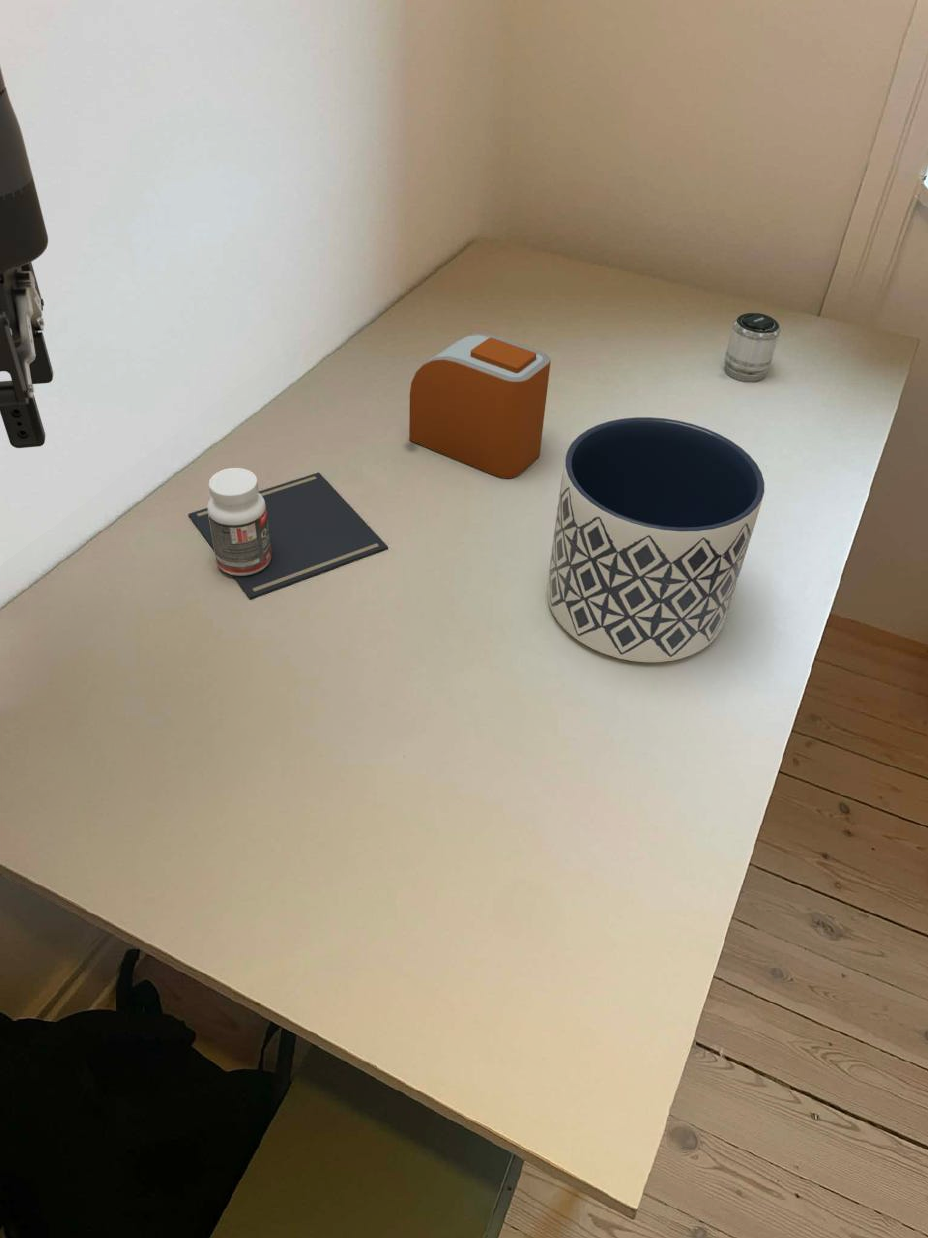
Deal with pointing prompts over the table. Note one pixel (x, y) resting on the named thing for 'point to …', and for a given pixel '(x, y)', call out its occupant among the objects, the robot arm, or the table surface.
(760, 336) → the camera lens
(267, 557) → the pill bottle
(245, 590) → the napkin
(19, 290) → the robot arm
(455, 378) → the alarm clock
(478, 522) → the table surface
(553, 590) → the planter
